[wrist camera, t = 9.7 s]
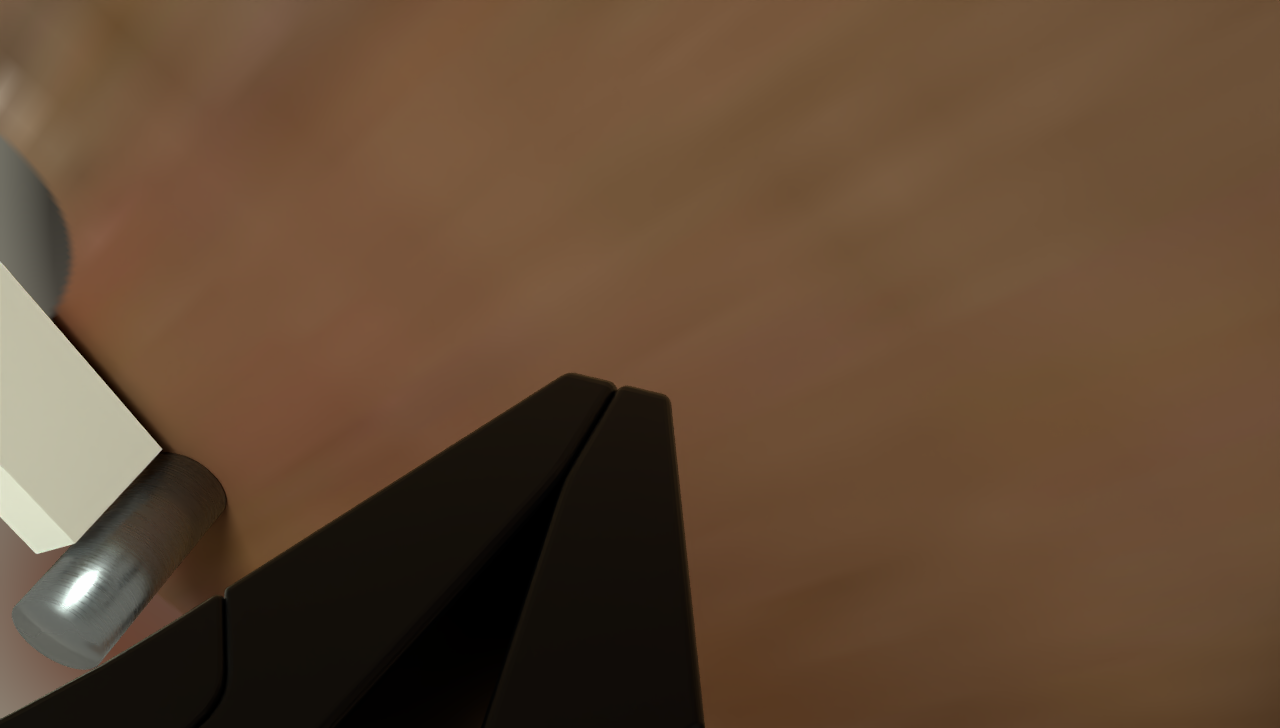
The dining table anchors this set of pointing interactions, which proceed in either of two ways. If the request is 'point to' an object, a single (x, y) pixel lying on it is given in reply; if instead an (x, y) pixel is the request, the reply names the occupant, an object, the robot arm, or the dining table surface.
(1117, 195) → the dining table surface
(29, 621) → the hinge post
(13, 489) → the gate
